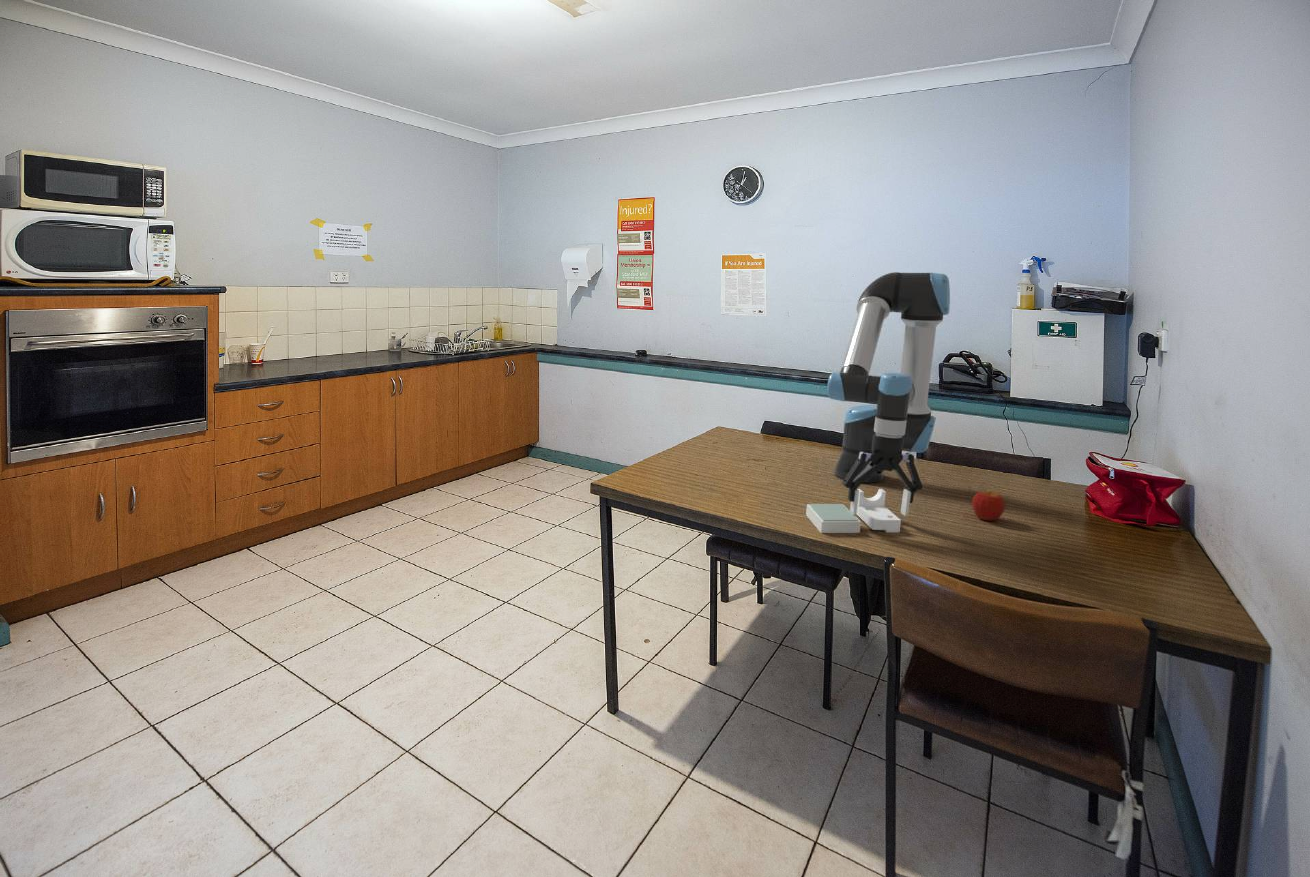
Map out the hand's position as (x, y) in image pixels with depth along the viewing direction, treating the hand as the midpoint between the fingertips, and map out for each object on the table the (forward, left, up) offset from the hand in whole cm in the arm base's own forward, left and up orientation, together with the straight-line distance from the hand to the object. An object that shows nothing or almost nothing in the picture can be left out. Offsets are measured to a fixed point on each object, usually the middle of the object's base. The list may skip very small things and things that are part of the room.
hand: (878, 514), depth 171 cm
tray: (+12, -1, -3) cm, 12 cm away
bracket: (0, -1, -3) cm, 4 cm away
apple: (-32, -4, -3) cm, 33 cm away
